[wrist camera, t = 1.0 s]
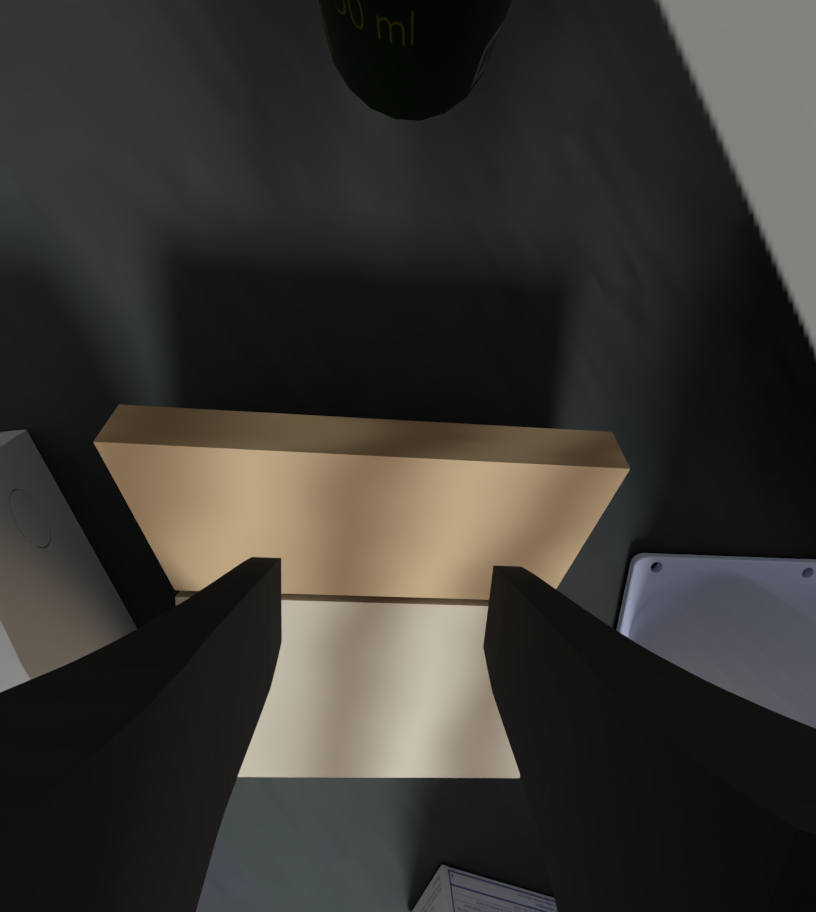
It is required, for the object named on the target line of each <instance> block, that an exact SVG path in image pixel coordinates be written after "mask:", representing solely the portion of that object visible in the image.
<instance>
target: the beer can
mask: <svg viewBox="0 0 816 912" xmlns="http://www.w3.org/2000/svg"><path fill="white" fill-rule="evenodd" d="M319 3H320V8H321V14H322V19H323V24H324V29H325V33H326V37H327V40H328V44H329V48H330V51H331V55H332V59H333V62H334V64H335V66H336V67H337V69H338V71H339V72H340V74H341V76H342V77H343V79H344V81H345V82H346V84H347V86H348V87H349V89H350V90H351V91H352V92H353V93H355V94H356V95H357V96H358V97H359V98H360V99H361V100H362V101H363V102H364V103H365V104H367V105H368V106H369V107H370V108H372V109H374V110H376V111H378V112H381V113H383V114H385V115H387V116H390V117H392V118H394V119H405V120H424V119H427V118H430V117H433V116H437V115H440V114H443V113H446V112H447V111H448V110H450V109H451V108H452V107H454V106H455V105H456V104H458V103H459V102H460V101H462V100H463V99H464V98H466V97H467V96H468V94H469V93H470V91H471V90H472V89H473V87H474V86H475V84H476V83H477V82H478V80H479V79H480V77H481V76H482V74H483V73H484V71H485V68H486V65H487V63H488V60H489V58H490V55H491V52H492V50H493V47H494V45H495V42H496V39H497V37H498V34H499V32H500V29H501V26H502V24H503V21H504V19H505V16H506V13H507V11H508V8H509V6H510V3H511V0H319Z"/></svg>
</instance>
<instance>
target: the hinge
mask: <svg viewBox="0 0 816 912" xmlns="http://www.w3.org/2000/svg"><path fill="white" fill-rule="evenodd" d="M136 629H137V627H136V626H135V624H134V622H133V620H132V618H131V617H130V615H129V613H128V611H127V609H126V608H125V606H124V604H123V602H122V600H121V599H120V597H119V595H118V593H117V591H116V590H115V588H114V586H113V584H112V582H111V581H110V579H109V577H108V575H107V574H106V572H105V570H104V568H103V566H102V565H101V563H100V561H99V559H98V557H97V556H96V554H95V552H94V550H93V548H92V547H91V545H90V543H89V541H88V539H87V538H86V536H85V534H84V532H83V530H82V529H81V527H80V525H79V523H78V521H77V520H76V518H75V516H74V514H73V512H72V511H71V509H70V507H69V505H68V503H67V502H66V500H65V498H64V496H63V495H62V493H61V491H60V489H59V487H58V486H57V484H56V482H55V480H54V478H53V477H52V475H51V473H50V471H49V469H48V468H47V466H46V464H45V462H44V460H43V459H42V457H41V455H40V453H39V451H38V450H37V448H36V446H35V444H34V442H33V441H32V439H31V437H30V435H29V433H28V432H27V430H15V431H6V432H0V692H3V691H5V690H7V689H10V688H12V687H14V686H17V685H19V684H22V683H24V682H26V681H29V680H31V679H34V678H36V677H38V676H41V675H43V674H45V673H48V672H50V671H53V670H55V669H57V668H60V667H62V666H64V665H67V664H69V663H71V662H73V661H75V660H77V659H79V658H82V657H84V656H86V655H88V654H90V653H92V652H94V651H96V650H98V649H100V648H102V647H104V646H106V645H108V644H110V643H112V642H114V641H116V640H118V639H120V638H122V637H123V636H125V635H127V634H129V633H131V632H133V631H135V630H136Z"/></svg>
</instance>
